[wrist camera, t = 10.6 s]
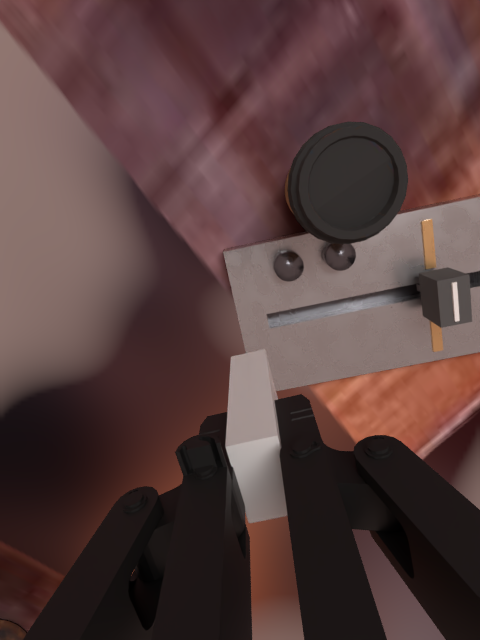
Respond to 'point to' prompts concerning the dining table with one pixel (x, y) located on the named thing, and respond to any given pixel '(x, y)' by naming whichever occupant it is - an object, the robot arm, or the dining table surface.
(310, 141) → the coffee cup
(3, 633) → the vase
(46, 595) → the dining table surface
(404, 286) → the console
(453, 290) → the fader
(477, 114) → the dining table surface
